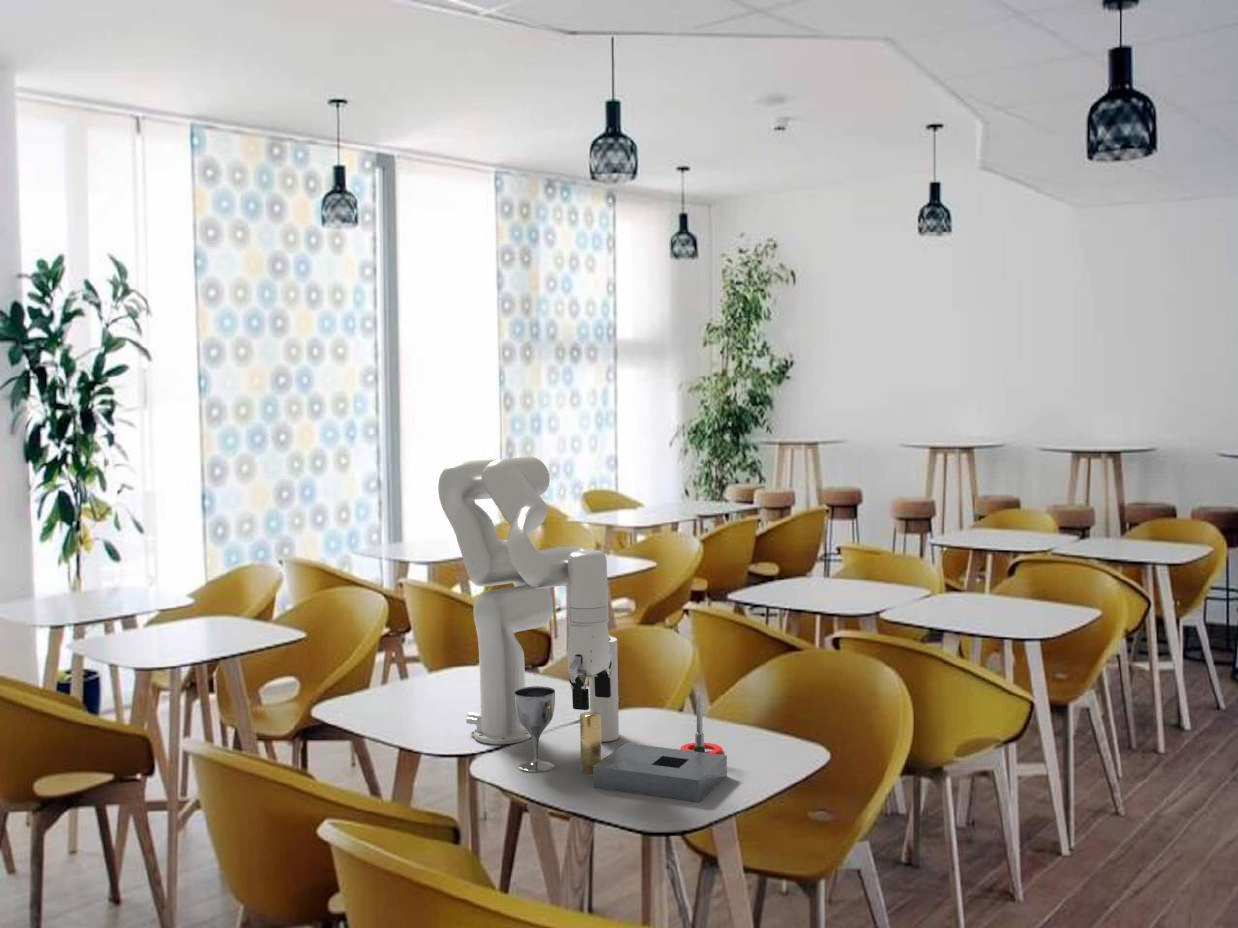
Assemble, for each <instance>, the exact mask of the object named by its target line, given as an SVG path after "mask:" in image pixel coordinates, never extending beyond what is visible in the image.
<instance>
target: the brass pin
mask: <svg viewBox="0 0 1238 928" xmlns="http://www.w3.org/2000/svg"><path fill="white" fill-rule="evenodd" d="M579 721H580V722H579V728H580V729H579V733H580V735H579V736H580V737H579V738H580V771H581V773H583V774H587V775H588V774H589V775H593V766H594V765H595V764H597V763H598V762H600V761H601V760H602V742H601V714H600V713H598V712H590V711H585V712H582V713H580V714H579Z"/></svg>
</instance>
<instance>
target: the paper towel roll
mask: <svg viewBox="0 0 1238 928" xmlns="http://www.w3.org/2000/svg"><path fill="white" fill-rule="evenodd" d="M609 642H610V650H611V651H612V658H611V663H612V664H611V665H612V666H611V668H610V671H611V676H610V685H611V697H609V698H604V697H596V696H595V679H594V677H595V676H597V675H594V676H592V677H589V680H588V682H589V683H588V684H589V687H588V690H589V712H598V713H600V714H601V743H602V742H604V743H605V742H613V741H616V740H618V739H619V736H620V735H619V733H620V732H619V731H620V730H619V729H620V728H619V721H620V720H619V677H618V676H619V673H618V672H619V670H618V667H619V666H618V665H619V664H618V639H617V637H616V636H613V635H610V634H609Z"/></svg>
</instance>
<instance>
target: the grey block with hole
mask: <svg viewBox="0 0 1238 928" xmlns="http://www.w3.org/2000/svg"><path fill="white" fill-rule="evenodd" d="M727 757H728V756H727V755H726V754H725V755H724V754H711V753H703V752H695V751H694V750H692V751H687V750H681V749H677V748H668V747H662V746H661V747H660V746H653V745H645V744H639V743H638V744H637V743H636V744H635V743H630V742H625V743H624V744H622V745H621V746H620V747H617V749H615V750H614V751H612V752H611V753H610V754H608V755H607V756H605V757H604V758H603V759H602V758H601V761H600V762H598V763H597V764H595V765H594V766H593V774H592V779H593V780H592V784H593V785H592V786H593V788H597V789H601V790H602V789H604V790H609V791H617V792H623V793H624V792H625V793H631V794H639V795H645V796H654V797H659V798H660V797H661V798H666V799H667V798H668V799H674V800H681V801H688V802H694V803H695V802H696V803H700V802H701V801H702V800H703V799H705V797H707V795H709V794H710V793H711V792H712V791H713V790H714V789H715V788H716V787H717V786H718V785H719V784H720V783H721V782H722V781H723V780H724V779H726V777H727V776H728V768H727V767H728V761H727V760H728V758H727Z"/></svg>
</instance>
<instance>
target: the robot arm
mask: <svg viewBox="0 0 1238 928" xmlns="http://www.w3.org/2000/svg"><path fill="white" fill-rule="evenodd" d="M550 478H551V477H550V473H549V469H548V467H547V466H546V465H545V463H544V462H543V461H542V460H541V459H539V458H537V457H534V456H523V457H509V458H508V457H507V458H506V457H505V458H496V459H495V458H493V459H482V460H481V459H479V460H478V459H477V460H466V461H459V462H455V463H452V464H450V465H448V466H447V467H445V468H444V469H443V470H442V471H441V474H440V476H439V479H438V484H437V485H438V487H437V491H438V497H439V498H438V499H439V502H440V506H441V507H442V510H443V512H444V514H445V516H446V518H447V520H448V522H449V523H450V525H451V527H452V529H453V532H454V534H455V537H456V541H457V544H458V548H459V551H460V554H461V556H462V559H463V564H464V566H465V569H466V572H467V575H468V577H469V580H470V581H471V582H472V584H473V585H475V586H477V587H492V586H493V587H494V586H500V585H507V584H513V586H510V587H503V588H497V589H495V588H494V589H492V590H489V591H486V592H483V593H482V594H480V595H478V597H477V598H476V599H475V601H474V604H473V610H472V614H473V620H474V621H473V622H474V625H475V628H476V629H475V631H476V634H477V635H476V636H477V643H478V644H477V645H478V661H479V663H478V664H479V690H480V691H479V693H480V713H477V712H470V711H469V712H468V713H467V715H466V724H469V725H475V726H476V729H475V730H474V732H473V737H474V739H475V740H476V741H478V742H480V743H484V744H489V745H490V744H491V745H507V744H509V745H510V744H516V743H521V742H524V741H527V740H529V739H532V737H531V735H530V733H529V732H528V731H527V730H526V729H525V728H524V726H523V725H522V724H521V723H520V721H519V720H518V717H517V713H516V708H515V691H516V690H517V689H520V688H524V687H526V681H525V680H526V679H525V678H526V677H525V673H526V672H525V653H524V650H523V648H522V646H521V644H520V642H519V641H518V640H517V638H516V636H515V633H517V632H522V631H523V632H524V631H528V630H533V629H538V628H541V627H544V626H546V625H547V624H549V622H550V620H551V619H552V617H553V612H554V611H553V610H554V607H553V601H552V596H551V594H550V588H556V587H562V586H568V587H567V588H568V608H569V609H568V611H569V612H568V613H569V624H570V625H569V629H568V630H569V631H568V640H567V675H568V678H569V683H570V689H571V691H572V692H571V694H572V696H571V698H572V708H573V710H576V711H577V710H579V711H588V710H590V691H589V688H587V686H588V684H589V683H588V682H589V677H592V676H594V675H597V676H595V677H594V679H595V696H596V697H604V698H609V697H611V685H610V676H611V671H610V668H611V666H612V665H611V664H612V663H611V658H612V651H611V650H610V642H609V626H608V623H610V619H609V614H610V613H609V589H608V587H609V585H608V565H607V563H608V562H607V556H606V554H605V553H604V552H603V551H601V550H596V549H595V550H594V549H586V548H584V547H581V546H578V545H571V546H562V547H552V548H545V549H537V548H536V546H535V545H534V544H533V542H532V541H531V540H530V537H528V535H529V534H531V533H532V532H534V531H535V530H537V529H538V528H539V527H540V526H541V525H542V524H543V522H544V521H545V520H546V518H547V516H548V505H547V504H546V502H545V501H544V499H543V498H542V497H541V495H543V494H544V493H546V491H547V490H548V488H549V487H550ZM488 499H491V500H492V501H493V502H494V504H495V505H496V507H497V509H498V510H499V511H500V513H501V515H502V516H503V518H504V519H505V520H506V522H507V523H508V525H509V529H508V533H507V534H508V535H507V539H501V538H499V536H498V534H497V531H496V528H495V525H494V522H493V519H492V518H491V516H490V515H489V514H488V513H487V512H486V511H485V510H484V509H483V508H482V507H481V506H479V505H478V504H477V503H476V502H475V500H476V501H477V500H488ZM581 678H582V679H581Z"/></svg>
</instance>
